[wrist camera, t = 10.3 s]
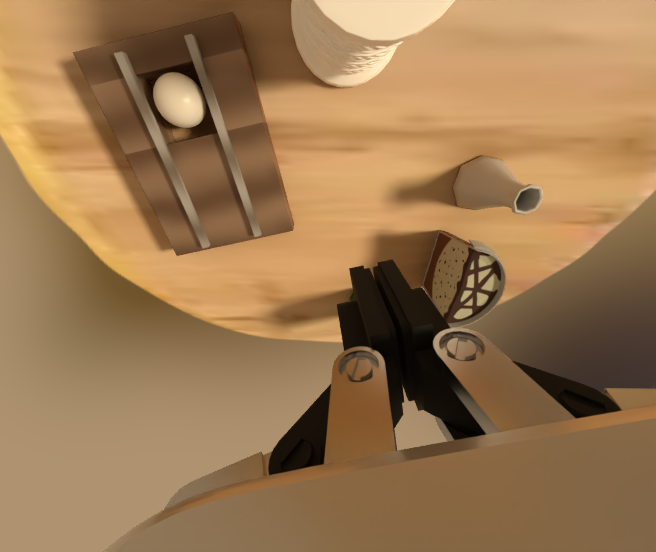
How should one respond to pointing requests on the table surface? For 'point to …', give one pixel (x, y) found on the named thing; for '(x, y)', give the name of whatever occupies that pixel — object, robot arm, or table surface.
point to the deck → (199, 153)
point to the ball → (179, 100)
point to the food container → (463, 279)
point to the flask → (494, 187)
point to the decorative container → (357, 34)
